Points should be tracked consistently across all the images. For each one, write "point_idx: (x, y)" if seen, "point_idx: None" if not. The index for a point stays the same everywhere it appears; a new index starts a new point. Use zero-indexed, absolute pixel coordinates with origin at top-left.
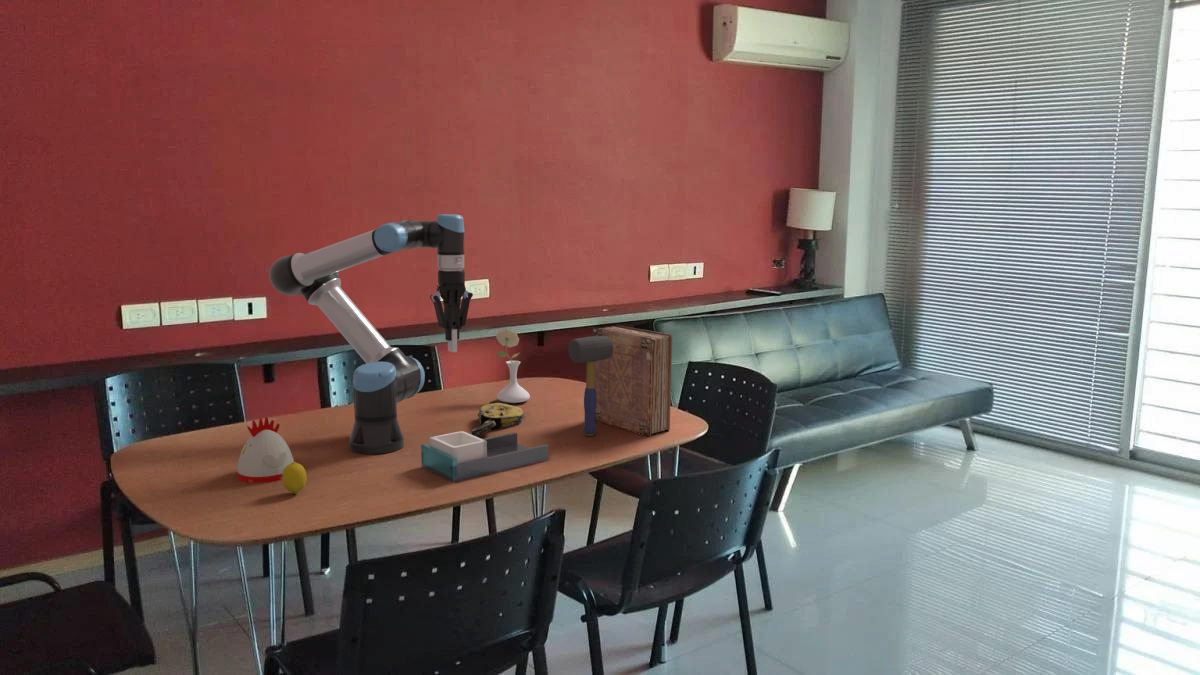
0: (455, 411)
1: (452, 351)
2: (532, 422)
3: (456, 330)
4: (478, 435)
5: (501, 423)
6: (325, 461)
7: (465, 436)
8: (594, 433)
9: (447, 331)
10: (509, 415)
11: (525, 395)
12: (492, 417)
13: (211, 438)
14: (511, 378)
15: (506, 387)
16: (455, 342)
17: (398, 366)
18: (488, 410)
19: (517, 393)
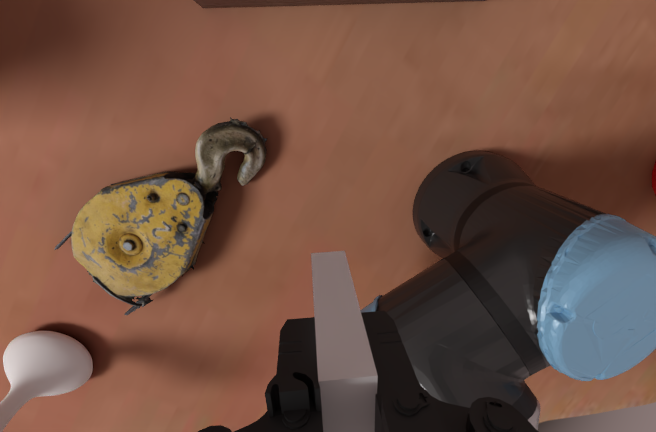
0: (212, 342)
1: (344, 257)
2: (71, 184)
3: (324, 370)
4: (259, 130)
5: (168, 172)
6: (590, 170)
7: None
8: None
9: (414, 380)
10: (129, 192)
11: (18, 343)
12: (187, 183)
13: (616, 376)
14: (18, 401)
15: (51, 384)
16: (329, 288)
17: (488, 347)
18: (173, 239)
19: (35, 352)
